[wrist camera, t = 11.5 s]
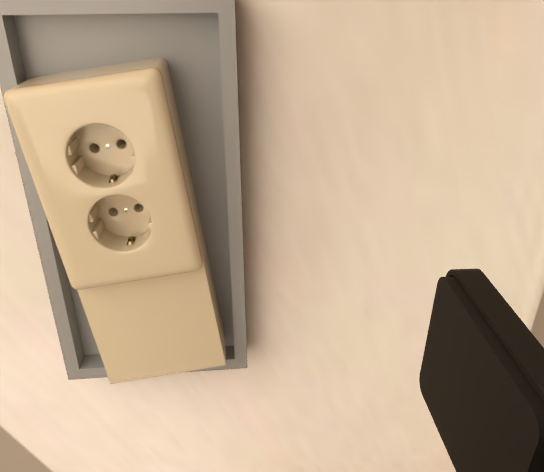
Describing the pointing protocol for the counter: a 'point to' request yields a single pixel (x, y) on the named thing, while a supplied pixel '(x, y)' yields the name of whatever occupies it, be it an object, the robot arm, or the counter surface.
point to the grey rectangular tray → (193, 118)
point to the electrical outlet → (123, 213)
